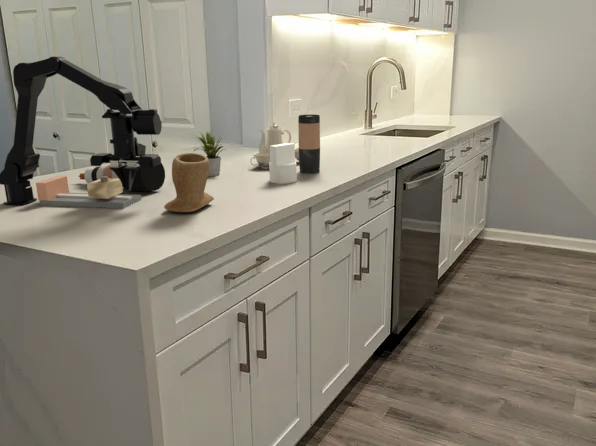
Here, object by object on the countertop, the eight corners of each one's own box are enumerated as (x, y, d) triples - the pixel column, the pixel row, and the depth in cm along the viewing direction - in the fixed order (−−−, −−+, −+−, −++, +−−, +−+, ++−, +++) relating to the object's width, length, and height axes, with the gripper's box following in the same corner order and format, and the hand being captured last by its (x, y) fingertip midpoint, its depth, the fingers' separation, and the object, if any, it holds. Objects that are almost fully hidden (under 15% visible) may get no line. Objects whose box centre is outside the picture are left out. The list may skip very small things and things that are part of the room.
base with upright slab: (283, 176, 187) (283, 142, 183) (302, 180, 181) (301, 144, 177) (264, 180, 181) (262, 145, 177) (282, 184, 175) (281, 147, 171)
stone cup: (198, 217, 139) (194, 159, 134) (158, 214, 142) (153, 157, 138) (225, 203, 152) (222, 150, 148) (188, 200, 156) (184, 148, 152)
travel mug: (324, 171, 195) (324, 115, 189) (310, 174, 189) (309, 116, 184) (308, 169, 200) (308, 114, 194) (294, 172, 194) (293, 115, 189)
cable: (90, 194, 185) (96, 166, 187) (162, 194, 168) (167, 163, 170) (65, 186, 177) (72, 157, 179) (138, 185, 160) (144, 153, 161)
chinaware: (263, 176, 197) (265, 130, 191) (237, 165, 209) (237, 122, 203) (319, 165, 215) (322, 124, 209) (291, 157, 227) (293, 117, 221)
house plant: (180, 175, 193) (177, 128, 188) (211, 169, 203) (208, 125, 198) (205, 180, 184) (202, 131, 179) (236, 173, 193) (234, 127, 189)
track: (39, 205, 154) (35, 182, 152) (60, 197, 163) (57, 175, 161) (123, 208, 148) (121, 185, 147) (141, 199, 158) (138, 177, 156)
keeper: (88, 197, 151) (86, 179, 149) (104, 191, 158) (102, 174, 157) (108, 198, 150) (106, 180, 148) (122, 192, 157) (120, 174, 156)
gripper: (167, 131, 153) (171, 185, 158) (107, 130, 157) (113, 183, 161) (149, 136, 143) (154, 194, 147) (85, 135, 147) (92, 191, 151)
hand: (128, 190), depth 152 cm, fingers closed
